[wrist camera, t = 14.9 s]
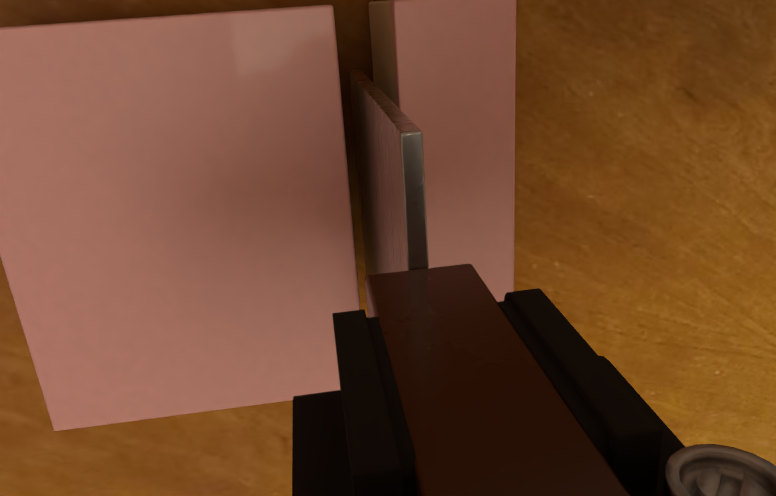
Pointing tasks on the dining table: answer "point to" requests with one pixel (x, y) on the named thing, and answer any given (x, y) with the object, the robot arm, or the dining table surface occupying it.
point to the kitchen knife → (456, 341)
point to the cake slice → (457, 121)
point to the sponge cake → (176, 210)
